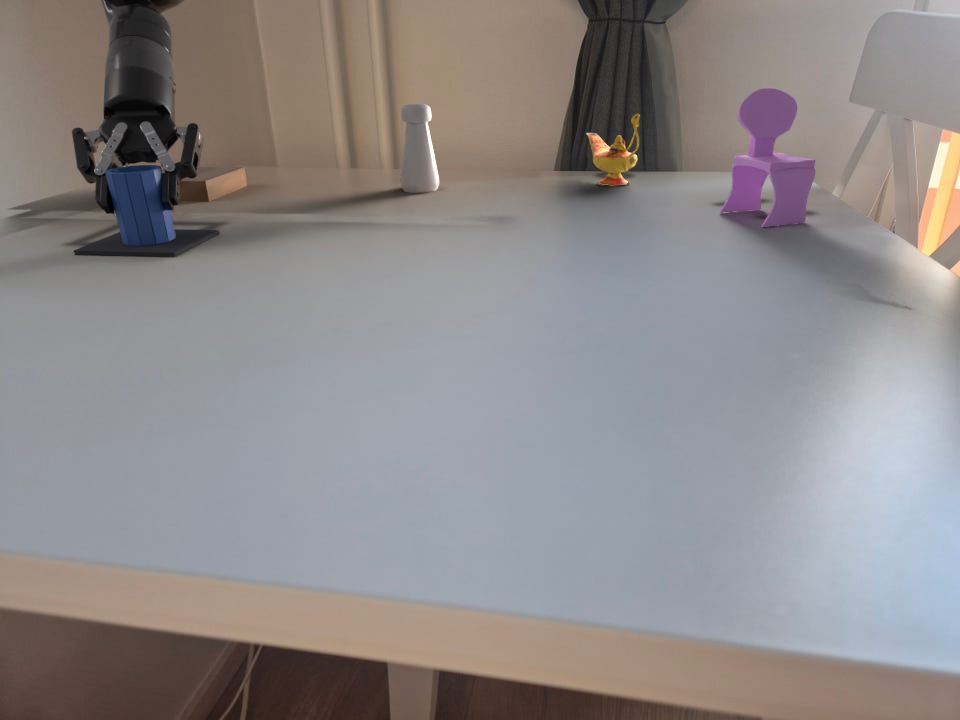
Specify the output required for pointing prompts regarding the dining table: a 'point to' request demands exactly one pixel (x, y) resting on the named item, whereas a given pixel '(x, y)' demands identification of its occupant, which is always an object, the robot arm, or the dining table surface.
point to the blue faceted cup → (140, 205)
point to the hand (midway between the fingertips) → (138, 207)
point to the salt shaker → (418, 151)
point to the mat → (167, 249)
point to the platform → (212, 183)
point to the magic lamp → (614, 156)
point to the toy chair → (770, 161)
